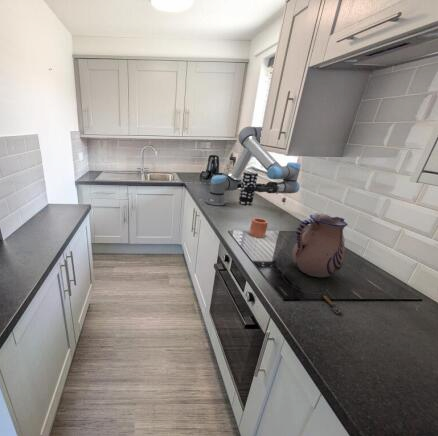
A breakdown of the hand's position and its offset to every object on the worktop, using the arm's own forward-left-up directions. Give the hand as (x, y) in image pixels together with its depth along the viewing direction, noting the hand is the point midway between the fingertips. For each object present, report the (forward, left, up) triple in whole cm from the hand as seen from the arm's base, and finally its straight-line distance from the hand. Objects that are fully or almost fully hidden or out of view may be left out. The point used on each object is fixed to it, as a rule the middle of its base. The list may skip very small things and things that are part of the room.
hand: (241, 187), depth 145 cm
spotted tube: (-3, +4, -11) cm, 12 cm away
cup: (+12, +15, -24) cm, 31 cm away
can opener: (+63, +46, -24) cm, 82 cm away
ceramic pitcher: (+42, +40, -24) cm, 63 cm away
